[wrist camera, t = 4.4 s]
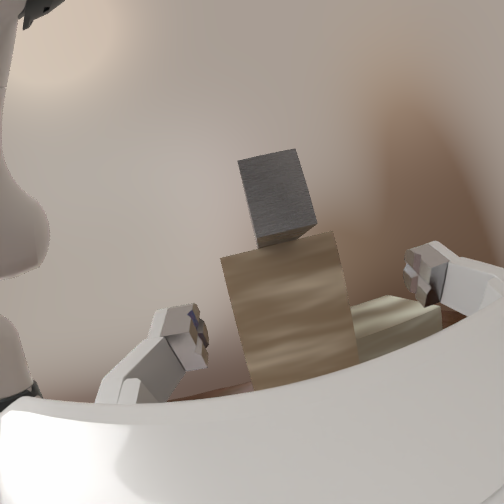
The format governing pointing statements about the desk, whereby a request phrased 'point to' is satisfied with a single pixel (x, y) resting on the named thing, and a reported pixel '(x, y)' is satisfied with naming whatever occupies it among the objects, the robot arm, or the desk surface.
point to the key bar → (277, 197)
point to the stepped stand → (312, 313)
